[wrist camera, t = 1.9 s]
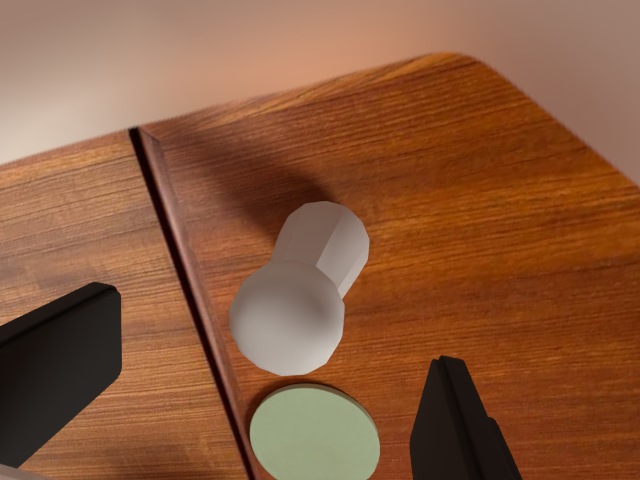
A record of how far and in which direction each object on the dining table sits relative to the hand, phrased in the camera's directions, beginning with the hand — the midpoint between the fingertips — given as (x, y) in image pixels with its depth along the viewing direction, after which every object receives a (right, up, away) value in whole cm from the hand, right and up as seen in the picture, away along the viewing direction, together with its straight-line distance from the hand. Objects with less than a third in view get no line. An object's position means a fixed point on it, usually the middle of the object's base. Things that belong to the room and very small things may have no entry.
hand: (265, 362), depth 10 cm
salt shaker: (+2, +4, +14) cm, 15 cm away
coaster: (+1, -13, +19) cm, 23 cm away
